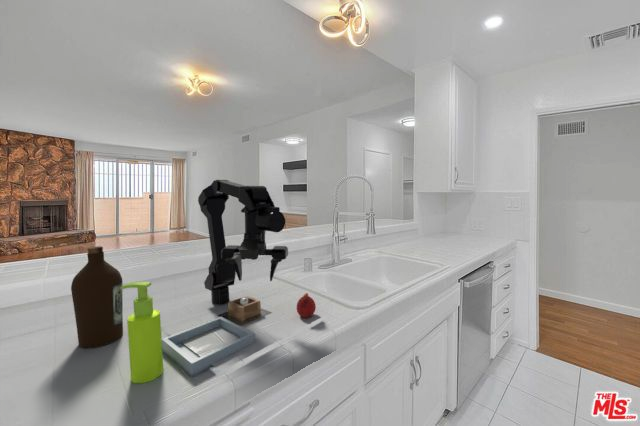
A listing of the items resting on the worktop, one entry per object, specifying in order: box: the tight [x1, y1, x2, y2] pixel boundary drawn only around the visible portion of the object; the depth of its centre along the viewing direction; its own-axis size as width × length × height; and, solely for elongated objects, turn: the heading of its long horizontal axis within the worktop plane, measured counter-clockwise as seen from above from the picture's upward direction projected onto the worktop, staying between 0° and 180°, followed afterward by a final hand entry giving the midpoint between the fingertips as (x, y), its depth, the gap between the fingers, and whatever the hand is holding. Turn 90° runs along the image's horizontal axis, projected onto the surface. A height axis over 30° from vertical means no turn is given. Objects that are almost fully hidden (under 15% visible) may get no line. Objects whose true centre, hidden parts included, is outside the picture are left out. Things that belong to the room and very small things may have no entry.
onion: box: [296, 292, 316, 319], centre depth 85 cm, size 6×6×8 cm
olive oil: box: [70, 245, 124, 349], centre depth 74 cm, size 11×11×25 cm
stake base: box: [216, 296, 273, 327], centre depth 87 cm, size 12×12×6 cm
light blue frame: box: [162, 316, 256, 378], centre depth 70 cm, size 16×16×3 cm
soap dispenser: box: [120, 281, 164, 384], centre depth 59 cm, size 6×7×20 cm
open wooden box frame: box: [227, 295, 262, 321], centre depth 87 cm, size 7×7×4 cm
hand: (255, 280), depth 83 cm, fingers open, 9 cm apart
